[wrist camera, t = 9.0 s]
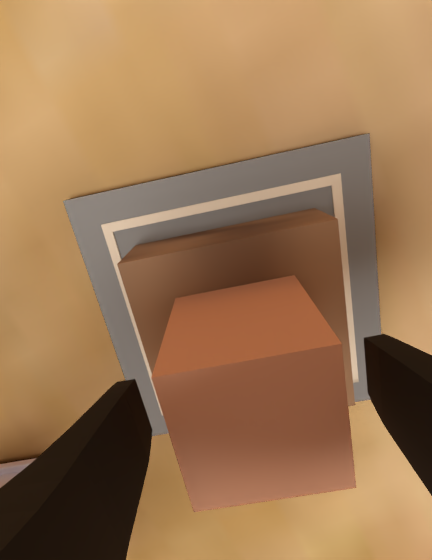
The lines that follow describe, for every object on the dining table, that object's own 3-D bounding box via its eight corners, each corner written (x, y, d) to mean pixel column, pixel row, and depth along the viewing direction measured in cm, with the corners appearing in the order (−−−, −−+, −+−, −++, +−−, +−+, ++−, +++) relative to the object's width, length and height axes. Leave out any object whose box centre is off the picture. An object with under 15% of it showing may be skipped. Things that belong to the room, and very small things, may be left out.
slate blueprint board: (147, 429, 19) (145, 438, 19) (68, 199, 15) (62, 201, 14) (379, 389, 18) (385, 398, 18) (363, 134, 14) (370, 133, 14)
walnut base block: (178, 392, 18) (171, 435, 15) (135, 245, 15) (116, 264, 12) (332, 365, 17) (355, 405, 14) (314, 207, 15) (337, 218, 12)
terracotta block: (201, 395, 14) (193, 511, 10) (175, 298, 13) (151, 377, 8) (308, 377, 14) (356, 487, 9) (294, 274, 12) (341, 343, 8)
